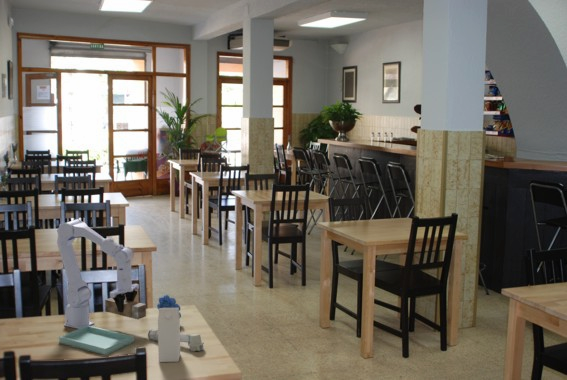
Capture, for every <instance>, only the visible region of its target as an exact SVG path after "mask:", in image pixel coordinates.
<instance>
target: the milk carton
mask: <svg viewBox="0 0 567 380" xmlns="http://www.w3.org/2000/svg"><path fill="white" fill-rule="evenodd" d="M179 312H180V311H179V308H159V309H158V319H157V330H158V341H157V342H158V344H157V345H158V347H157V348H158V362H159V363H167V362H168V363H170V362H171V363H174V362H175V363H176V362H179V360H180V356H181V342H180V333H181V327H180V324H181V323H180V322H181V321H180V319H181V317H180V315H179Z"/></svg>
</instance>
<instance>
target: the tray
mask: <svg viewBox="0 0 567 380" xmlns="http://www.w3.org/2000/svg"><path fill="white" fill-rule="evenodd" d="M58 341H59V342H58V343H59V344H60V345H65V346H69V347H73V348H76V349H79V350H85V351H89V352H92V353H95V354H99V355H103V356H107V355H109V354H111V353H113V352H116V351H119V350H120V349H122V348H125V347H126V346H128V345H131V344H133V343H134V341H135V340H134V335H129V334H127V333H122V332H118V331H113V330H110V329H104V328H100V327H97V326H93V325H90V326H89V325H88V326H85V327H83V328H80V329H76V330H73V331H71V332H68V333H66V334H63V335H60V336H59V337H58Z"/></svg>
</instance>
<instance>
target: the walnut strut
mask: <svg viewBox="0 0 567 380" xmlns="http://www.w3.org/2000/svg"><path fill="white" fill-rule="evenodd" d="M146 306H147V305H146V303H142V302H137V301H134V302H133V301H129V300H126V299H125V300H124V309H123V312H118V309H117V305H116V303H115V301H114V299H113V298H112V297H109V298H107V299H105V300H104V307H105V310H104V312H106V313H110V314H113V315H118V316H122V317H125V318H131V319H134V320H141V319H142V318H145V317H147V307H146Z"/></svg>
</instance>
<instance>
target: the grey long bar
mask: <svg viewBox="0 0 567 380" xmlns="http://www.w3.org/2000/svg"><path fill="white" fill-rule="evenodd" d="M147 338H148V339H149V341H150V340H151V341H156V342H158V329H151V330H148V333H147ZM180 343H187V346H188V347H189V348H188V349H189V351H191V352H195V351H198V352H200V351H203V350H204V343H205V341H204V340H202V337H201V334H200V333H191V334H190V333H182V332H180Z"/></svg>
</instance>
